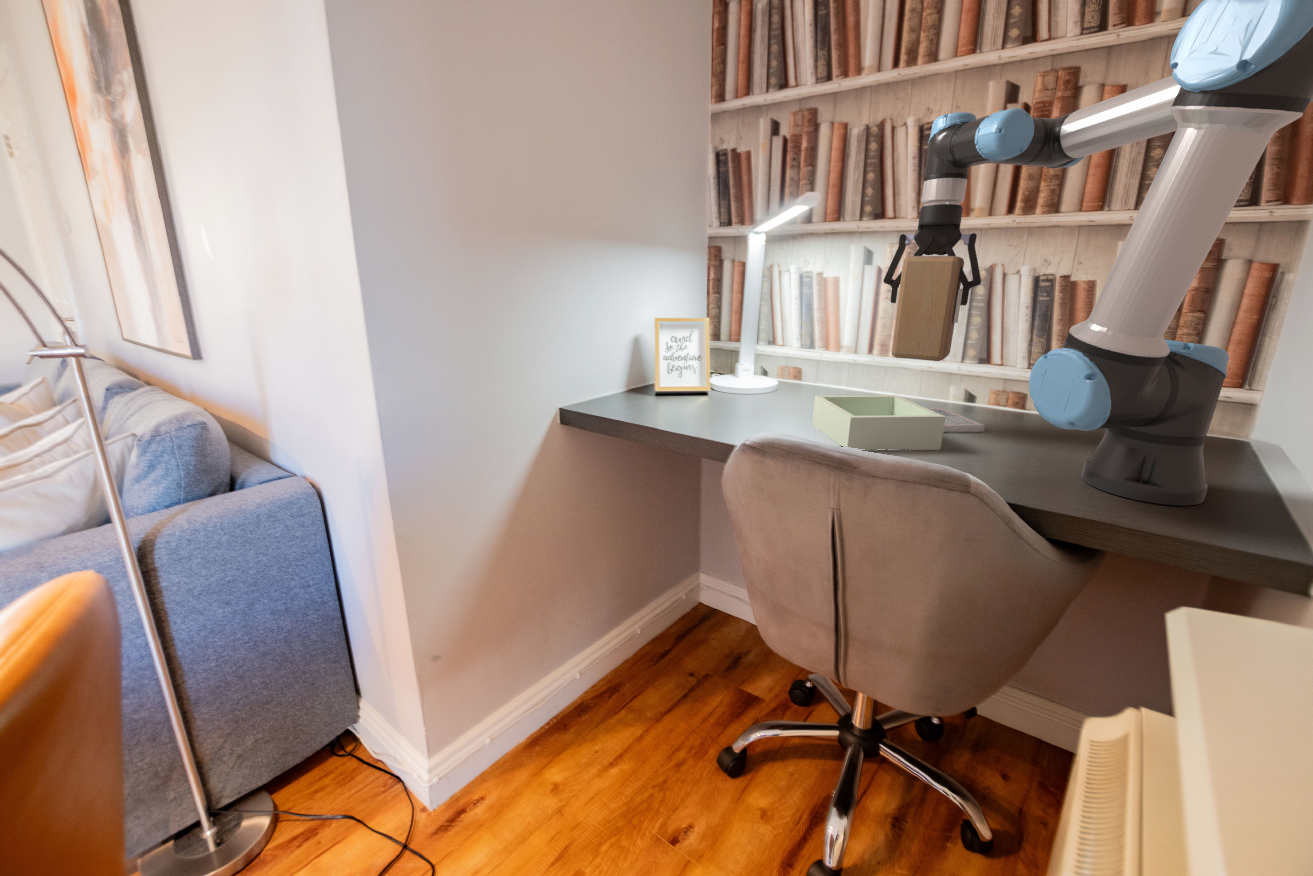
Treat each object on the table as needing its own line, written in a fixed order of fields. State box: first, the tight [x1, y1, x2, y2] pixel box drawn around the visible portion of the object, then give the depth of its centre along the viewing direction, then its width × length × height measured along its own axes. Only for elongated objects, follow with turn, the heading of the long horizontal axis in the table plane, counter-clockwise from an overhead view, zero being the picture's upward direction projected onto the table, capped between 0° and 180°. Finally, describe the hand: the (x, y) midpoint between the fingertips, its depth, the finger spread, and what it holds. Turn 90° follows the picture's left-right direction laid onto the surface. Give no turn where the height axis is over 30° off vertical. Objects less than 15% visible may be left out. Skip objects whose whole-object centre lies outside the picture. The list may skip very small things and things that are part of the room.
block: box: [891, 255, 965, 362], centre depth 116 cm, size 10×10×20 cm
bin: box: [812, 394, 947, 452], centre depth 115 cm, size 18×18×6 cm
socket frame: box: [926, 407, 986, 434], centre depth 127 cm, size 15×15×2 cm
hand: (925, 320), depth 117 cm, fingers closed on block, 10 cm apart
